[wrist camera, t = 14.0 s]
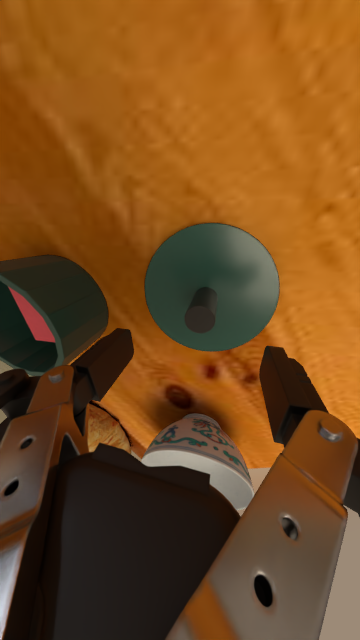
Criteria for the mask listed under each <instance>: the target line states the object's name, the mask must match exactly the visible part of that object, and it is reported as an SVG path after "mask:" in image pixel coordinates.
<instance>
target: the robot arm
mask: <svg viewBox="0 0 360 640" xmlns="http://www.w3.org/2000/svg"><path fill="white" fill-rule="evenodd" d="M133 354H134V348H133V342H132V336H131V332H130V330H128V329H120V328H117V329H115V330H114V331H113V332H112V333H111V334H110V335H107V336H105V337H104V338H102V339H100V340H99V341H98V342H96V343H95V345H93V346H92V347H91V348H90V349H88V350H87V351H86V352H85V353H84V354H82V355H81V356H80V357H79V358H78V359H77V360H75V361H74V362H73V363H72V364H71V365H61V366H57V367H55V368H52V369H50V370H49V371H47V372H46V373H44V374H43V375H42V376H33V377H29V376H28V374H27V372H26V371H25V370H24V369H13V370H9V371H6V372H4V373H2V374H0V409H2V411H3V412H4V413H5V415H6V416H7V418H6V419H5V420H4V421H3V422H2V423H1V424H0V640H319V636H320V632H321V628H322V624H323V620H324V616H325V611H326V607H327V603H328V599H329V594H330V591H331V586H332V582H333V578H334V574H335V570H336V565H337V561H338V557H339V553H340V549H341V545H342V541H343V536H344V532H345V528H346V524H347V518H348V512H347V509H346V508H345V507H344V506H343V505H345V506H347V507H348V508H350V509H352V510H353V511H355V512H357V513H358V514H359V517H360V439H358V438H356V436H355V435H354V433H353V432H352V431H351V429H350V428H349V427H348V426H347V425H346V424H345V423H343V422H342V421H341V420H339V419H338V418H336V417H335V416H333V415H331V414H329V412H328V411H327V409H326V407H325V405H324V404H323V402H322V400H321V398H320V396H319V395H318V393H317V391H316V389H315V388H314V386H313V384H311V380H310V379H309V377H307V373H306V372H305V370H304V368H303V366H302V365H300V364H299V363H298V362H297V361H296V360H295V359H292V358H288V356H287V354H286V352H285V350H284V348H282V347H273V346H266V348H265V351H264V355H263V358H262V362H261V366H260V374H259V375H260V382H261V387H262V391H263V395H264V400H265V404H266V409H267V413H268V418H269V422H270V426H271V431H272V435H273V440H274V442H277V443H281V444H284V450H283V451H282V453H280V454H279V456H278V457H277V459H276V461H275V462H274V464H273V465H272V467H271V469H270V470H269V472H268V474H267V475H266V477H265V479H264V480H263V482H262V484H261V485H260V487H259V489H258V490H257V492H256V493H255V495H254V497H253V498H252V500H251V502H250V503H249V505H248V506H247V508H246V510H245V511H244V513H243V515H242V516H241V517H240V515H239V513H238V512H237V510H236V509H235V508H234V506H233V505H232V504H231V503H230V501H229V500H228V499H227V498H226V497H225V496H224V495H223V494H222V493H221V492H219V491H218V490H217V489H216V488H215V487H213V486H212V485H210V474H208V473H204V472H201V471H198V470H194V469H191V468H187V467H184V466H180V465H179V466H153V467H150V466H146V465H144V464H143V463H142V462H140V461H139V460H138V459H136V458H134V457H133V456H132V455H131V454H129V453H128V452H127V451H125V450H124V449H121V448H117V447H114V446H110V445H107V444H103V443H100V442H99V444H98V446H97V447H96V449H95V451H94V452H89V448H88V420H89V405H88V403H89V402H90V401H91V400H95V401H99V402H100V401H101V399H102V398H103V397H104V395H105V394H106V393H107V391H108V390H109V389H110V387H111V386H112V385H113V383H114V382H115V381H116V379H117V378H118V377H119V375H120V374H121V372H122V371H123V370H124V368H125V367H126V366H127V364H128V363H129V362H130V360H131V359H132V357H133Z"/></svg>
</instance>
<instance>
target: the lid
mask: <svg viewBox="0 0 360 640" xmlns="http://www.w3.org/2000/svg"><path fill="white" fill-rule="evenodd" d="M145 297H146V302H147V305H148V308H149V311H150V313H151V315H152V317H153V319H154V320H155V322H156V324H157V325H158V326H159V327H160V329H161V330H162V331H163V332H164V333H165V334H166V335H168V336H169V337H170V338H171V339H173V340H175V341H176V342H178V343H180V344H182V345H184V346H186V347H189V348H192V349H196V350H201V351H223V350H228V349H232V348H235V347H238V346H240V345H243V344H244V343H246V342H248V341H250V340H251V339H253V338H254V337H255V336H257V335H258V334H259V333H260V332H261V331H262V330H263V329H264V328H265V326H266V325H267V324H268V322H269V321H270V319H271V318H272V316H273V314H274V311H275V309H276V306H277V303H278V298H279V276H278V271H277V268H276V265H275V263H274V261H273V259H272V257H271V255H270V253H269V252H268V251H267V249H266V248H265V247H264V246H263V245H262V244H261V243H260V242H259V241H258V240H257V239H256V238H255V237H253V236H252V235H251V234H249V233H247V232H245V231H243V230H241V229H239V228H237V227H234V226H231V225H226V224H220V223H205V224H198V225H194V226H191V227H187V228H185V229H183V230H181V231H179V232H177V233H175V234H174V235H172V236H171V237H170V238H168V239H167V240H166V241H165V242H164V243H163V244H162V245H161V246H160V247H159V248H158V250H157V251H156V253H155V254H154V256H153V257H152V259H151V261H150V264H149V266H148V269H147V272H146V278H145Z"/></svg>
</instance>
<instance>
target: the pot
mask: <svg viewBox="0 0 360 640" xmlns="http://www.w3.org/2000/svg"><path fill="white" fill-rule="evenodd" d="M8 287H10V288H11V289H13V290H14V291H16V292H17V293H19V294H20V295H22V296H23V297H24V298H25V299H26V300H27V301H28V302H29V303H30V304H31V306H32V307H33V308H34V309H35V310H36V311H37V312H38V313H39V314H40V315H41V316H42V317H43V319H44V321H45V322H46V324H47V326H48V328H49V329H50V331H51V333H52V335H53V336H54V338H55V342H48V341H40V340H35V338H34V336H33V334H32V332H31V330H30V328H29V326H28V324H27V322H26V320H25V318H24V317H23V315H22V313H21V311H20V309H19V307H18V305H17V303H16V301H15V299H14V297H13V295H12V293H11V291H10V289H9V288H8ZM107 323H108V308H107V304H106V301H105V298H104V296H103V294H102V292H101V290H100V288H99V286H98V285H97V284H96V282H95V281H94V280H93V278H92V277H91V276H90V275H89V274H88V273H87V272H86V271H85V270H84V269H82V268H81V267H80V266H79V265H77V264H75V263H74V262H72V261H70V260H68V259H66V258H63V257H60V256H55V255H42V256H35V257H28V258H21V259H13V260H6V261H0V360H1V361H3V362H4V363H6V364H7V365H9V366H11V367H12V368H14V369H24V370H25V371H26V372H27V374H29V375H32V376H42V375H43V374H44V373H46V372H47V371H49V370H50V369H52V368H55V367H57V366H61V365H67V364H69V363H70V362H71V361H72V360H73V359H74V358H76V357H77V356H78V355H79V354H80V353H82V352H83V351H84V350H85V349H86V348H87V347H89V346H90V345H91V344H92V343H93V342H95V341H96V340H97V339H98V338H99V337H100V336H101V334H102V333H103V332H104V331H105V329H106V327H107Z"/></svg>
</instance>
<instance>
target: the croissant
mask: <svg viewBox="0 0 360 640" xmlns="http://www.w3.org/2000/svg"><path fill="white" fill-rule="evenodd" d="M88 405H89V420H88V448H89V452H94V451H95V449H96V447H97V446H98V444H99V442H100V443H103V444H107V445H110V446H114V447H117V448H121V449H124V450H125V451H127V452H128V453H129V454H131V448H130V445H129V441H128V438H127V437H126V435H125V432H124V431H123V430H122V428H121V426H120V425H119V422H117V421H116V420H115V419H113V418H112V417H111V416H110V415H109V414H108V413H106V412H105V411H103V410H102V409H100V408H97V407H96V406H93V405H91V404H89V403H88Z"/></svg>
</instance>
